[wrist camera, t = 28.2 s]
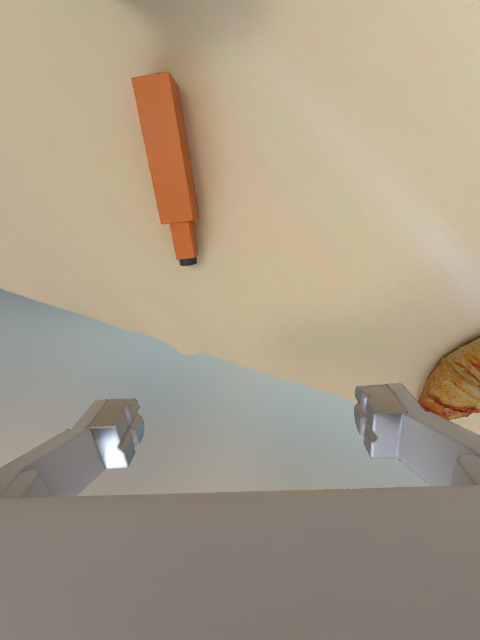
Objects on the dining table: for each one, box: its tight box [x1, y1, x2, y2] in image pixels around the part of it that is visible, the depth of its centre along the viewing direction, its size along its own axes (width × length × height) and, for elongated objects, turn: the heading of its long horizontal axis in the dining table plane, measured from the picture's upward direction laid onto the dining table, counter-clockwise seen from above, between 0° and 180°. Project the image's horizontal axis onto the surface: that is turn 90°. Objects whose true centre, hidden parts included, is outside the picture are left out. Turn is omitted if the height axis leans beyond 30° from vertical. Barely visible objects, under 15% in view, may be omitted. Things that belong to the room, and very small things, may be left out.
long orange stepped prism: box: [132, 72, 199, 266], centre depth 39 cm, size 22×4×4 cm, turn 7°
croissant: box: [419, 338, 480, 420], centre depth 48 cm, size 21×10×8 cm, turn 153°
